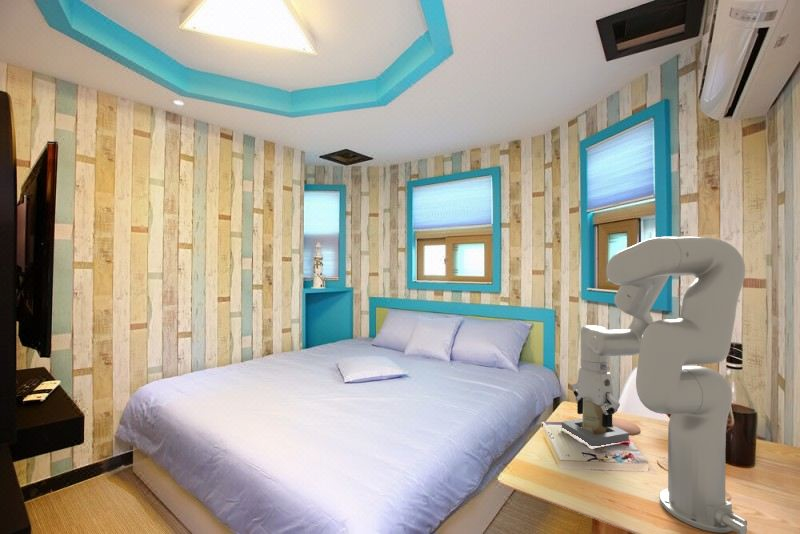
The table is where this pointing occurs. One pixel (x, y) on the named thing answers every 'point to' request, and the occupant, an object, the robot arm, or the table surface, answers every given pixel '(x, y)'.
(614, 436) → the gray square frame
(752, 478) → the table surface
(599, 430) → the skincare box
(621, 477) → the table surface
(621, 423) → the coaster
